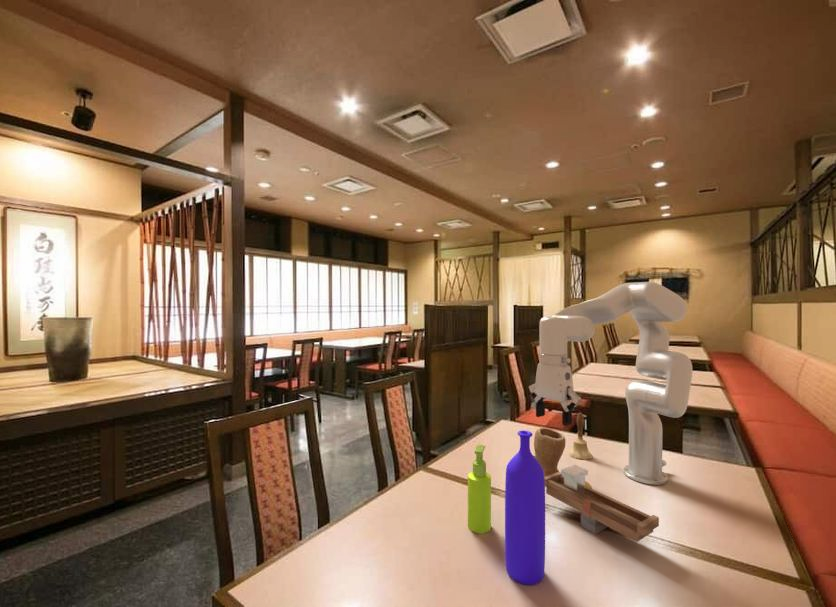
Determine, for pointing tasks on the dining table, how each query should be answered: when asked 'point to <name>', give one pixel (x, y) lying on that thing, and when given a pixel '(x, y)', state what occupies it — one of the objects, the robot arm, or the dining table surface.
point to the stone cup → (548, 449)
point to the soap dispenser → (479, 495)
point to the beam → (602, 510)
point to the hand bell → (580, 442)
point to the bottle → (525, 516)
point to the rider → (575, 478)
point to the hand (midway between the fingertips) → (553, 420)
